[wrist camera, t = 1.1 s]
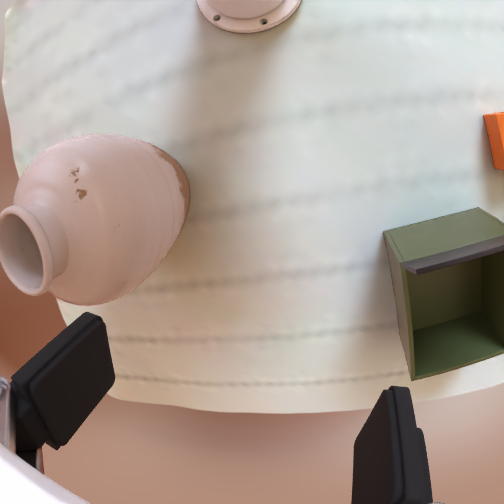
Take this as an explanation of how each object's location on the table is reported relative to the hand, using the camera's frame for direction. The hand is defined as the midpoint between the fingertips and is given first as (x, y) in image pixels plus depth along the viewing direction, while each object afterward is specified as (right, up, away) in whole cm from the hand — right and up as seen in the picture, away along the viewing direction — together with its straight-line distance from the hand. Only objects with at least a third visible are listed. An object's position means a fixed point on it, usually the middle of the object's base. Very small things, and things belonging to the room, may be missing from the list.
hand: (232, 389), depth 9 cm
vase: (-12, +12, +30) cm, 35 cm away
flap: (+18, +4, +11) cm, 22 cm away
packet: (+31, +18, +18) cm, 40 cm away
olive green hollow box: (+24, +1, +26) cm, 35 cm away
